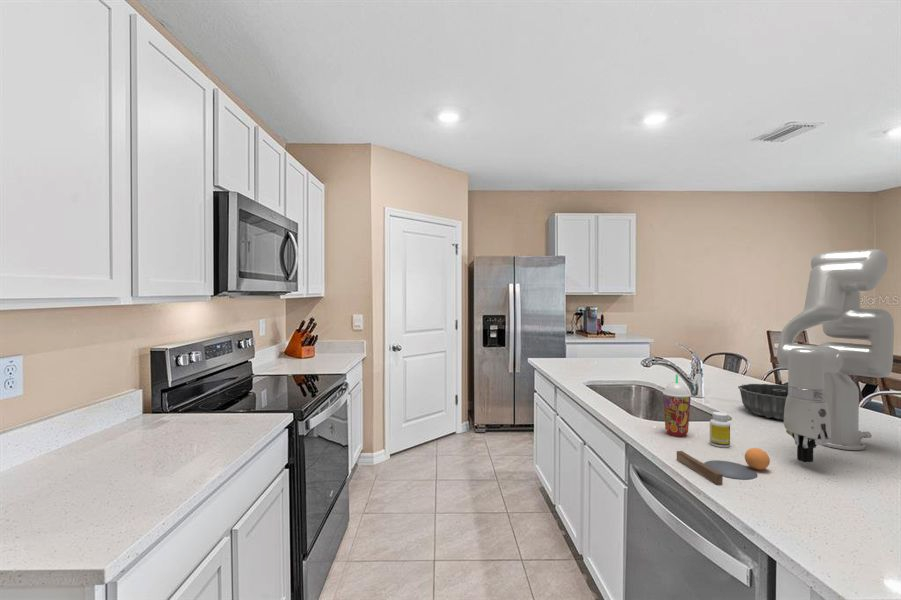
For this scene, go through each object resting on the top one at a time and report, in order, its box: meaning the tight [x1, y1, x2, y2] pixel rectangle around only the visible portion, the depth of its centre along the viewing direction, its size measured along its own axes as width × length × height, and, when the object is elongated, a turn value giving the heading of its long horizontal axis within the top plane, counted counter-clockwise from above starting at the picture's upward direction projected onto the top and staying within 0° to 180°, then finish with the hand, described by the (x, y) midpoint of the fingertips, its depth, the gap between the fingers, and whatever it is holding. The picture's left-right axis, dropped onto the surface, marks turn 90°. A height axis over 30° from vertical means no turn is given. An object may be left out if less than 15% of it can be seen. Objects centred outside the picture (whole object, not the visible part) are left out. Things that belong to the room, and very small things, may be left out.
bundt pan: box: [737, 383, 788, 421], centre depth 166 cm, size 26×26×10 cm
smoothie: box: [662, 374, 692, 438], centre depth 144 cm, size 8×8×20 cm
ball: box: [744, 447, 771, 471], centre depth 115 cm, size 6×6×6 cm
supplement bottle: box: [709, 411, 731, 448], centre depth 134 cm, size 5×5×10 cm
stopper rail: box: [676, 450, 723, 486], centre depth 114 cm, size 2×16×2 cm, turn 5°
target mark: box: [704, 459, 758, 481], centre depth 115 cm, size 12×12×1 cm
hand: (805, 460), depth 117 cm, fingers closed
